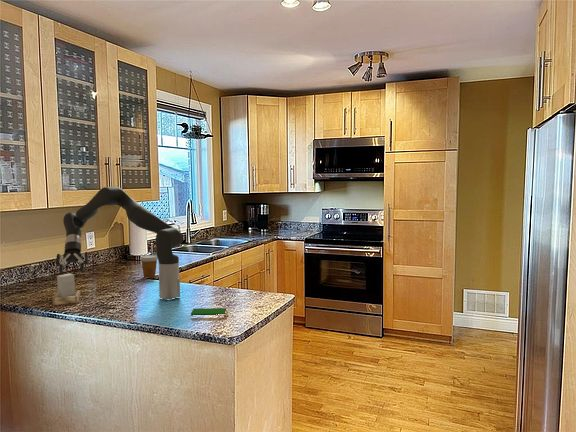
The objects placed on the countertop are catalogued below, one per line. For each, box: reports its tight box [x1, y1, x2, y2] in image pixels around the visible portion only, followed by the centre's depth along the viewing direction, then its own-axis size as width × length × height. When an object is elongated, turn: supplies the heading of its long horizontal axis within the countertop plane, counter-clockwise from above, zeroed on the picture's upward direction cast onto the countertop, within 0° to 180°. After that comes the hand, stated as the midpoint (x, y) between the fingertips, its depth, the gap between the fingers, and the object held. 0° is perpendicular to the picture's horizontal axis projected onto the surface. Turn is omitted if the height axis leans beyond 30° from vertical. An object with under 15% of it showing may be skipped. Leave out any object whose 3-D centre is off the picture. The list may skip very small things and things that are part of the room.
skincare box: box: [56, 273, 76, 297], centre depth 191 cm, size 6×4×12 cm
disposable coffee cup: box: [139, 254, 158, 279], centre depth 236 cm, size 10×10×12 cm
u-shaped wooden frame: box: [51, 289, 81, 306], centre depth 191 cm, size 10×11×3 cm
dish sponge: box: [190, 307, 227, 317], centre depth 172 cm, size 7×14×2 cm, turn 92°
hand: (71, 271), depth 202 cm, fingers open, 8 cm apart
